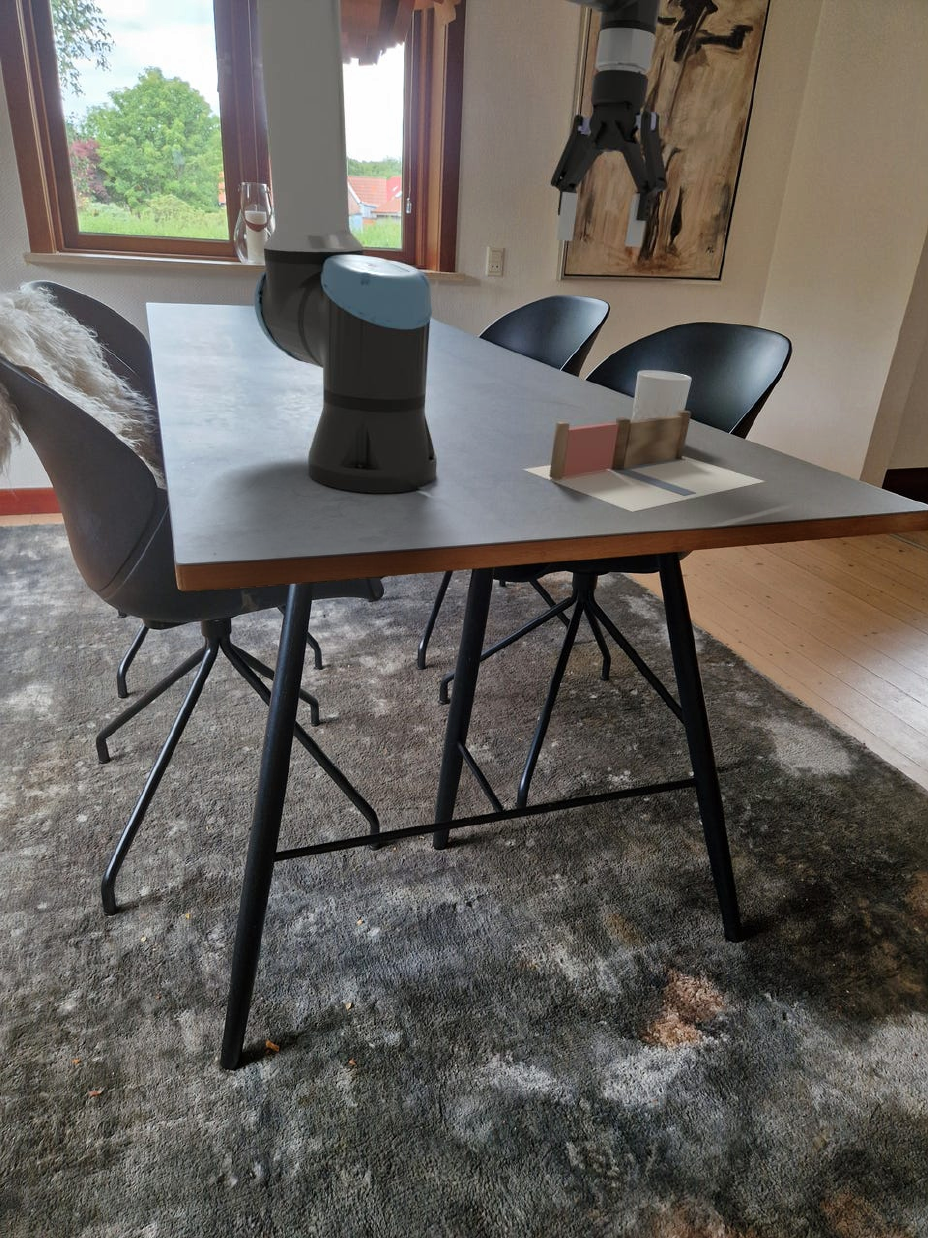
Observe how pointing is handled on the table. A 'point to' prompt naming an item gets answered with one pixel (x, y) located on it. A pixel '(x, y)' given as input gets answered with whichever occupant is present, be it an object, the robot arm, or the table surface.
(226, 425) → the table surface
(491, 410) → the table surface
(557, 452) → the fence gate
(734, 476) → the board
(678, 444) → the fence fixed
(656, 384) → the white cup
